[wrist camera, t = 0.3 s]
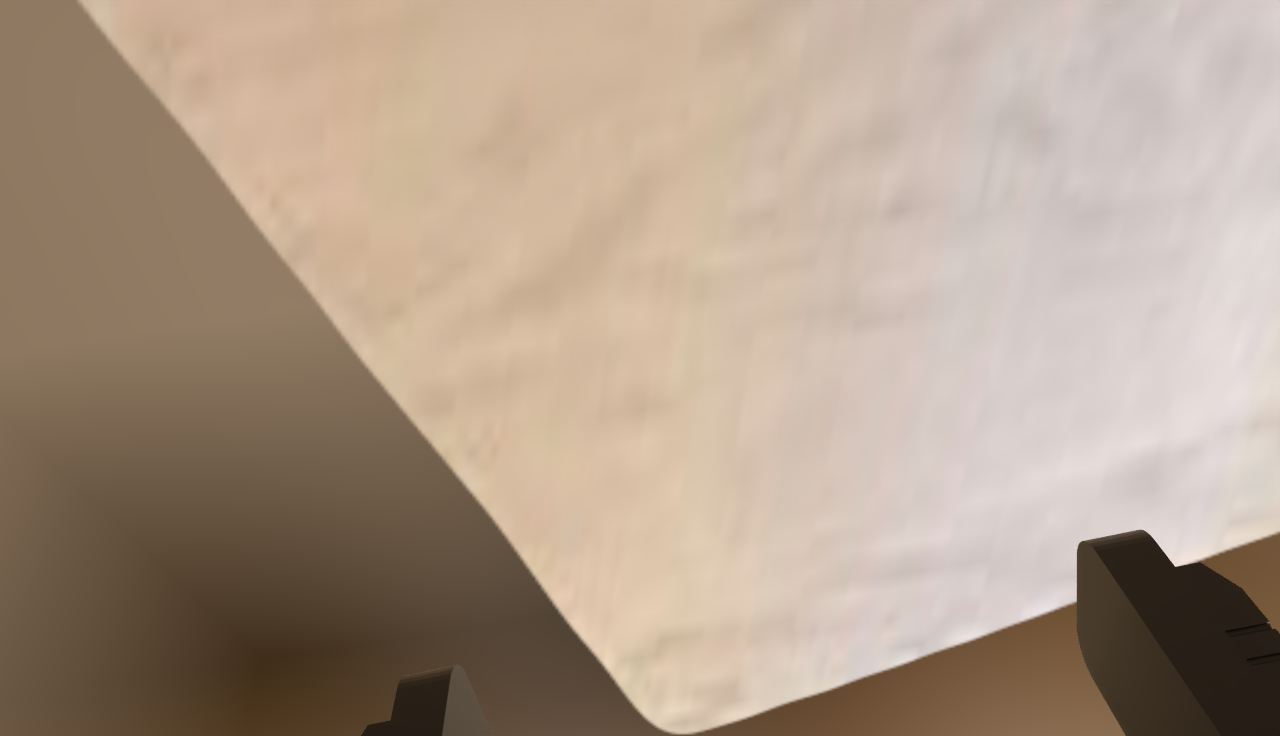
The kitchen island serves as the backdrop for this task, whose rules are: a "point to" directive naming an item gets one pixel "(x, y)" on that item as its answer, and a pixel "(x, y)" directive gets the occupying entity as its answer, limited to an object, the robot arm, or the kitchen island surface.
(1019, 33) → the kitchen island surface
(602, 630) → the kitchen island surface
